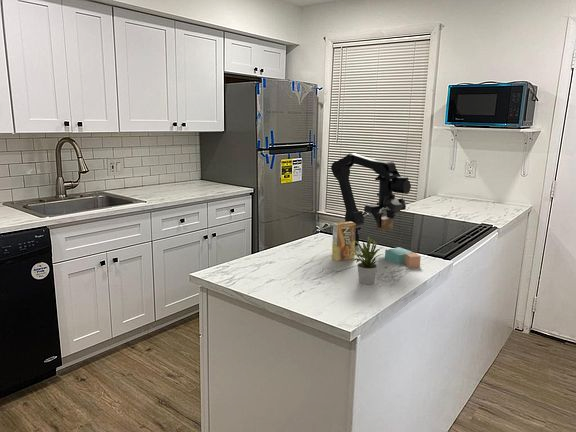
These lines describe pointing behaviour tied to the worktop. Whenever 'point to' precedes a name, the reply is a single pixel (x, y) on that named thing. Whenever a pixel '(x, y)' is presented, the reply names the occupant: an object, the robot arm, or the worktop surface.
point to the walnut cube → (386, 224)
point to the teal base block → (396, 255)
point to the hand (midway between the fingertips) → (384, 226)
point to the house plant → (366, 262)
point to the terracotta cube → (412, 259)
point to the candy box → (343, 240)
